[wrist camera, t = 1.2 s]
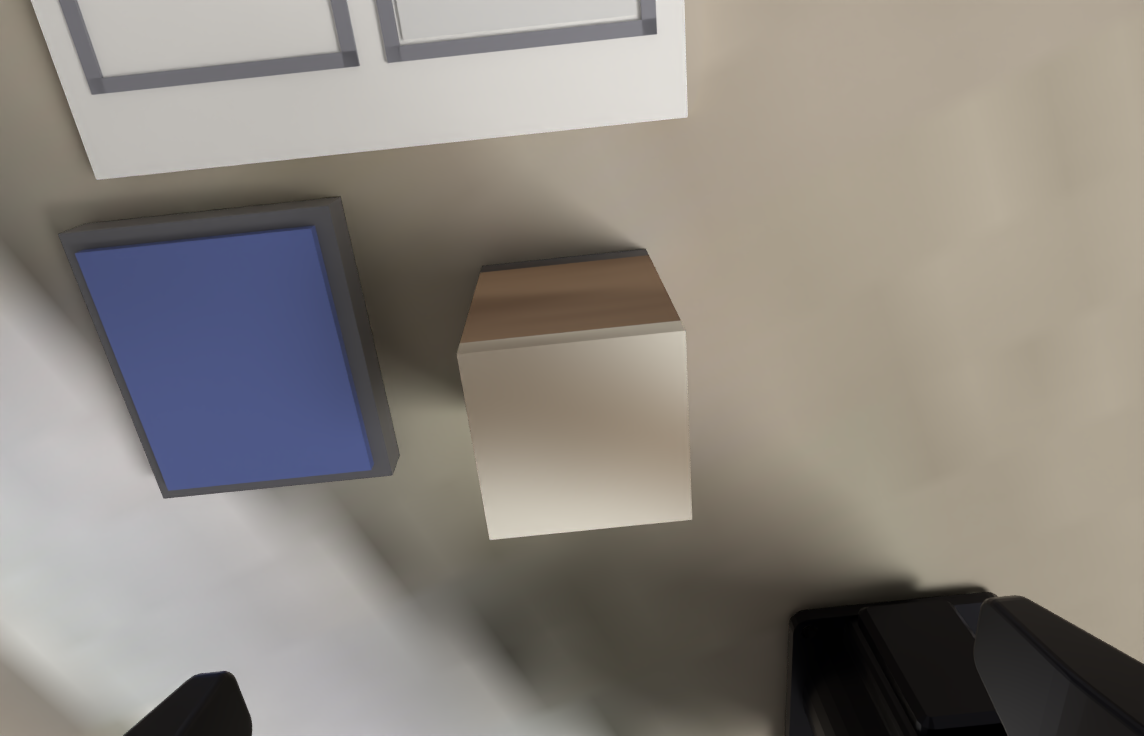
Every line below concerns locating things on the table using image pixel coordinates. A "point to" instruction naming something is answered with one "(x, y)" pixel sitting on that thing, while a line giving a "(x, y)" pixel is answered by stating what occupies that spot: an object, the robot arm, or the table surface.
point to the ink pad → (239, 345)
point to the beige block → (577, 395)
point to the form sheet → (351, 74)
